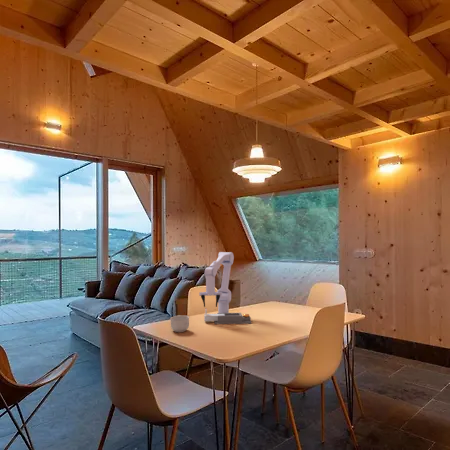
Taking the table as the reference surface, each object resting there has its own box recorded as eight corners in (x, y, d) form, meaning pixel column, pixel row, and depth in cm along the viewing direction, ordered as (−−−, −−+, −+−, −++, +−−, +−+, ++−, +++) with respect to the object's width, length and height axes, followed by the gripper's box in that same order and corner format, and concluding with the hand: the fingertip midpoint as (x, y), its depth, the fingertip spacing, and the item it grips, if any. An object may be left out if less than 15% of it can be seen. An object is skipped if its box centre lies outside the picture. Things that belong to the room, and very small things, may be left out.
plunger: (242, 318, 241) (242, 313, 241) (248, 318, 241) (248, 313, 241) (243, 320, 237) (243, 315, 237) (249, 320, 237) (249, 315, 237)
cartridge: (204, 318, 240) (204, 307, 241) (224, 318, 241) (224, 307, 241) (204, 321, 234) (204, 309, 234) (224, 320, 235) (224, 309, 235)
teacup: (188, 333, 209) (188, 319, 210) (168, 333, 209) (169, 319, 210) (190, 327, 223) (190, 314, 224) (172, 327, 223) (172, 314, 224)
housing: (214, 319, 244) (214, 312, 244) (248, 319, 245) (248, 312, 245) (214, 324, 232) (214, 316, 232) (251, 323, 233) (251, 316, 233)
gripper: (199, 286, 236) (199, 308, 236) (221, 286, 237) (221, 307, 237) (199, 285, 244) (199, 305, 243) (221, 285, 244) (221, 305, 244)
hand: (210, 306), depth 241 cm, fingers open, 7 cm apart
